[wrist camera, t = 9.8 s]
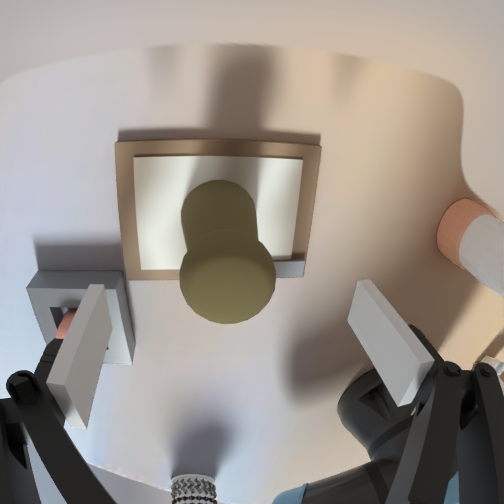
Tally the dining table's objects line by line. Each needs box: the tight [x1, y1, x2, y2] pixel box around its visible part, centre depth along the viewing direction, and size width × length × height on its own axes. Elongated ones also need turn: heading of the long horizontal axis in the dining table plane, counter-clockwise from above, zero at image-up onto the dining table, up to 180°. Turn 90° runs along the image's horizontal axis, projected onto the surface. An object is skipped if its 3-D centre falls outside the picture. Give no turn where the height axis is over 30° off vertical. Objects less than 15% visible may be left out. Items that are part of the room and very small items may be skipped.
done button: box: [56, 308, 77, 339], centre depth 26 cm, size 4×4×2 cm
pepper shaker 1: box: [179, 180, 276, 324], centre depth 21 cm, size 6×6×11 cm
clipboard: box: [115, 139, 322, 280], centre depth 26 cm, size 16×12×1 cm
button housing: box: [26, 271, 135, 365], centre depth 28 cm, size 9×9×3 cm
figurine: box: [474, 355, 504, 395], centre depth 41 cm, size 7×9×15 cm
